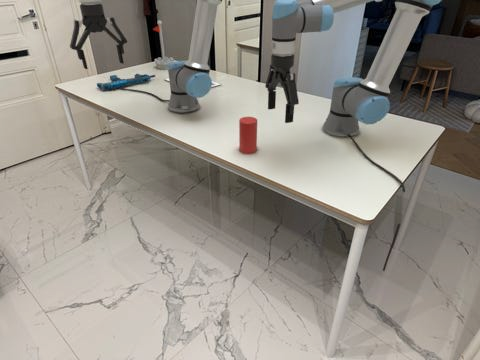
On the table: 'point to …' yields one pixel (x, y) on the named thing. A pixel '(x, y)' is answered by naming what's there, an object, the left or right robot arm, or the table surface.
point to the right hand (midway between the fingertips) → (279, 115)
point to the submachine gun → (123, 81)
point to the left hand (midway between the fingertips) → (104, 65)
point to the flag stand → (165, 61)
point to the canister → (248, 135)
